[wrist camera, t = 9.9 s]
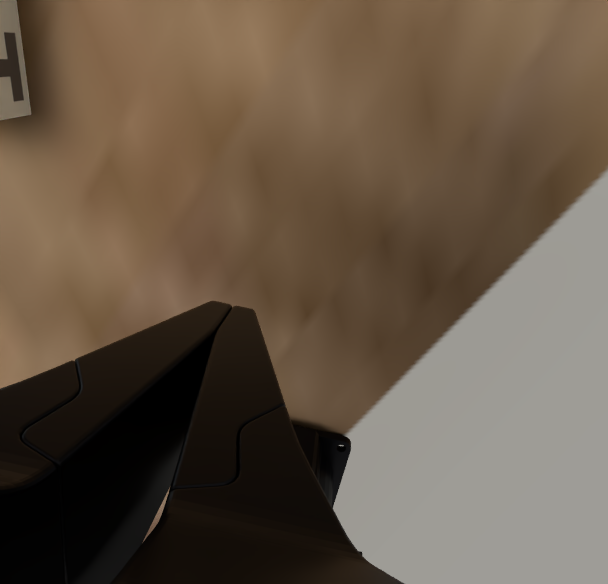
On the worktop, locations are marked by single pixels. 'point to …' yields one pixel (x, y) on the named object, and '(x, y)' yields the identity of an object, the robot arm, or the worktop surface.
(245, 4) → the worktop surface
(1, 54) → the light blue box
